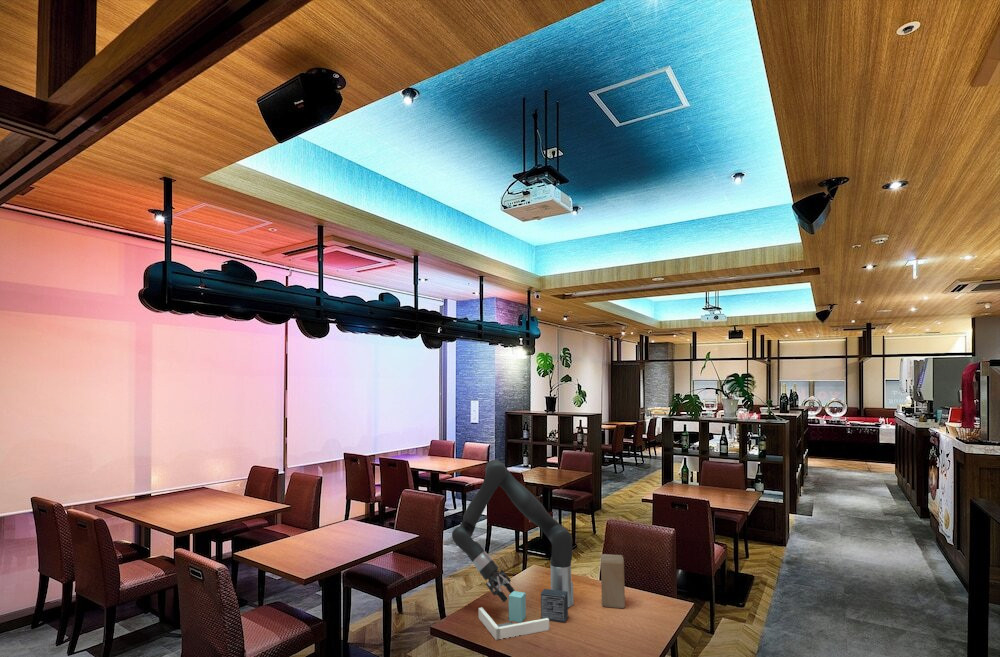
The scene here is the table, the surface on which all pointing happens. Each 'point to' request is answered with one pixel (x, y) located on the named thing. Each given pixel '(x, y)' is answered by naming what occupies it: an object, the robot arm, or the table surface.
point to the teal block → (517, 606)
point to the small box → (554, 605)
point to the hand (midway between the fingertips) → (509, 596)
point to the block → (612, 581)
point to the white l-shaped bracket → (512, 626)
